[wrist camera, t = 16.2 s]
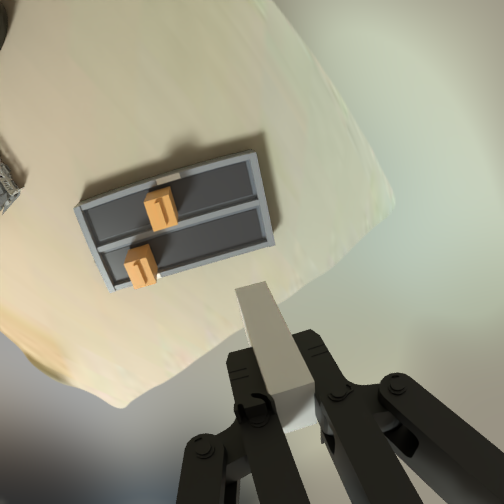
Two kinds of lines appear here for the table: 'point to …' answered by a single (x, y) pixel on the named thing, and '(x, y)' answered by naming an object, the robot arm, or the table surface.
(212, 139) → the table surface
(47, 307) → the table surface
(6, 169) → the graphics card
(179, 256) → the switch bank
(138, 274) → the tab
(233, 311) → the table surface
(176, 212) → the tab
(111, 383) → the table surface
